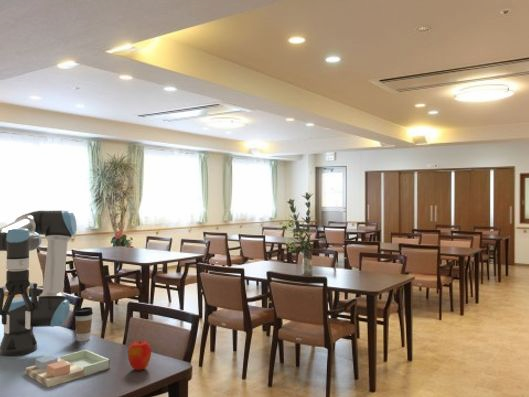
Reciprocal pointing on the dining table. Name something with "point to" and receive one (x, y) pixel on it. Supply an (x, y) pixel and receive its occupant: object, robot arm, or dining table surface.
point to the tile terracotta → (58, 368)
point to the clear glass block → (45, 362)
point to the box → (87, 361)
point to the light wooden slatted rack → (51, 380)
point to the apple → (139, 355)
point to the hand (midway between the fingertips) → (17, 330)
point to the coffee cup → (83, 323)
